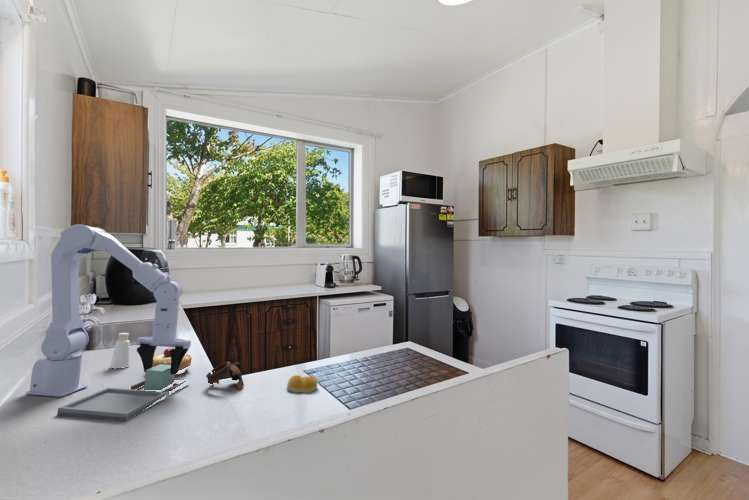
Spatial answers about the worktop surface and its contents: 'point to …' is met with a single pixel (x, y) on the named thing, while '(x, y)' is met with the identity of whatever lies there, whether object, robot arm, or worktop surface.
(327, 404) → the worktop surface
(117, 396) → the grey tray
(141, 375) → the worktop surface
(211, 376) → the brown piece
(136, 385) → the dark bent strip
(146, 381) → the teal block
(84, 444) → the worktop surface
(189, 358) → the pastry
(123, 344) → the salt shaker
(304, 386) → the bread roll
